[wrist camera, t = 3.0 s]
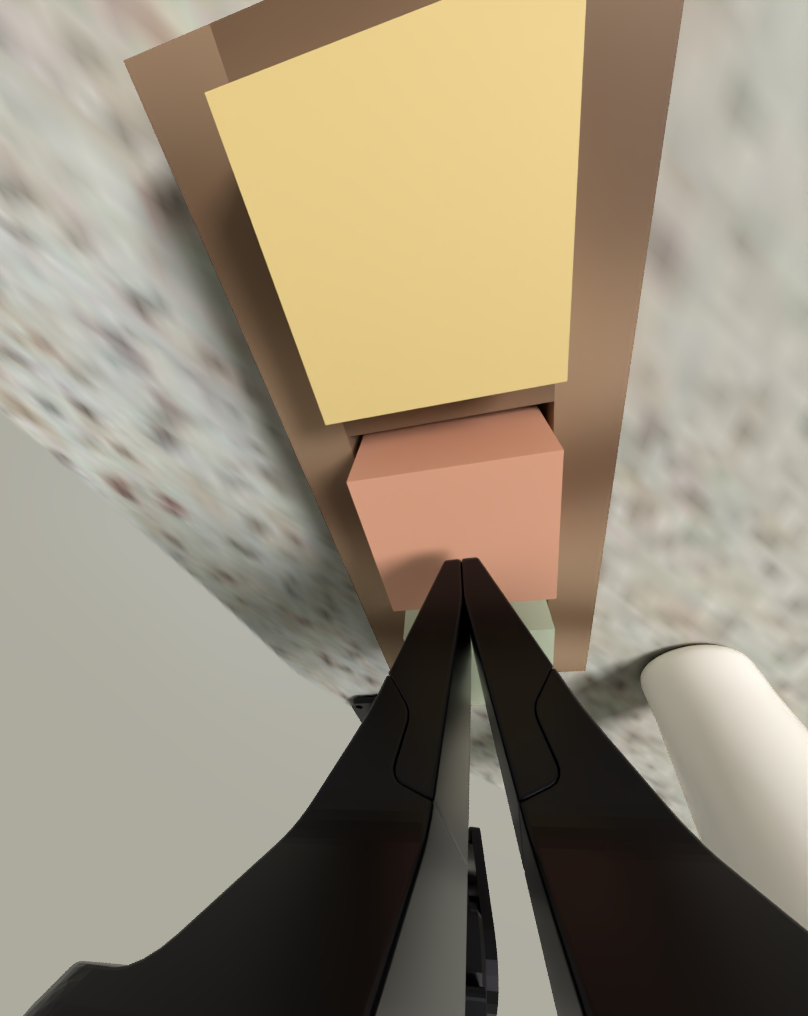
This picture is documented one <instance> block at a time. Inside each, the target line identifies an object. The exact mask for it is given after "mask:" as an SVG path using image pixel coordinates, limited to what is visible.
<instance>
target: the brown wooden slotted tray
mask: <svg viewBox="0 0 808 1016" xmlns="http://www.w3.org/2000/svg"><path fill="white" fill-rule="evenodd" d="M438 1H441V0H264V1H262V2H259V3H257V4H255V5H252V6H250V7H248V8H245V9H243V10H241V11H238V12H236V13H234V14H231V15H229V16H227V17H224V18H222V19H220V20H217V21H215V22H213V23H210V24H208V25H206V26H203V27H201V28H199V29H196V30H194V31H192V32H189V33H187V34H185V35H182V36H180V37H178V38H175V39H173V40H171V41H168V42H166V43H164V44H161V45H159V46H157V47H154V48H152V49H150V50H147V51H145V52H143V53H140V54H138V55H136V56H133V57H131V58H129V59H126V60H124V63H125V65H126V68H127V70H128V72H129V75H130V77H131V79H132V81H133V84H134V86H135V88H136V91H137V93H138V95H139V97H140V100H141V102H142V104H143V106H144V109H145V111H146V113H147V116H148V118H149V120H150V122H151V125H152V127H153V129H154V132H155V134H156V136H157V138H158V141H159V143H160V145H161V148H162V150H163V152H164V154H165V157H166V159H167V161H168V164H169V166H170V168H171V170H172V173H173V175H174V177H175V180H176V182H177V184H178V186H179V189H180V191H181V193H182V196H183V198H184V200H185V202H186V205H187V207H188V209H189V212H190V214H191V216H192V218H193V221H194V223H195V225H196V228H197V230H198V232H199V234H200V237H201V239H202V241H203V244H204V246H205V248H206V250H207V253H208V255H209V257H210V260H211V262H212V264H213V266H214V269H215V271H216V273H217V275H218V278H219V280H220V282H221V285H222V287H223V289H224V291H225V294H226V296H227V298H228V301H229V303H230V305H231V307H232V310H233V312H234V314H235V317H236V319H237V321H238V323H239V326H240V328H241V330H242V333H243V335H244V337H245V339H246V342H247V344H248V346H249V349H250V351H251V353H252V355H253V358H254V360H255V362H256V365H257V367H258V369H259V371H260V374H261V376H262V378H263V381H264V383H265V385H266V387H267V390H268V392H269V394H270V397H271V399H272V401H273V403H274V406H275V408H276V410H277V413H278V415H279V417H280V419H281V422H282V424H283V426H284V429H285V431H286V433H287V435H288V438H289V440H290V442H291V444H292V447H293V449H294V451H295V454H296V456H297V458H298V460H299V463H300V465H301V467H302V470H303V472H304V474H305V476H306V479H307V481H308V483H309V486H310V488H311V490H312V492H313V495H314V497H315V499H316V502H317V504H318V506H319V508H320V511H321V513H322V515H323V518H324V520H325V522H326V524H327V527H328V529H329V531H330V534H331V536H332V538H333V540H334V543H335V545H336V547H337V550H338V552H339V554H340V556H341V559H342V561H343V563H344V566H345V568H346V570H347V572H348V575H349V577H350V579H351V582H352V584H353V586H354V588H355V591H356V593H357V595H358V598H359V600H360V602H361V604H362V607H363V609H364V611H365V613H366V616H367V618H368V620H369V623H370V625H371V627H372V629H373V632H374V634H375V636H376V639H377V641H378V643H379V645H380V648H381V650H382V652H383V655H384V657H385V659H386V661H387V664H388V666H389V668H390V669H391V667H392V665H393V663H394V661H395V659H396V657H397V655H398V653H399V651H400V649H401V647H402V645H403V643H404V639H403V636H404V624H405V612H406V610H405V611H393V609H392V606H391V603H390V601H389V598H388V595H387V592H386V590H385V587H384V584H383V581H382V579H381V576H380V573H379V570H378V568H377V565H376V562H375V559H374V557H373V554H372V551H371V548H370V546H369V543H368V540H367V538H366V535H365V532H364V529H363V527H362V524H361V521H360V518H359V516H358V513H357V510H356V507H355V505H354V502H353V499H352V496H351V494H350V491H349V488H348V485H347V483H346V482H347V479H348V477H349V474H350V471H351V469H352V466H353V463H354V460H355V458H356V455H357V452H358V450H359V447H360V444H361V442H362V439H363V436H364V434H369V433H374V432H379V431H385V430H391V429H397V428H402V427H408V426H414V425H420V424H425V423H431V422H437V421H443V420H448V419H454V418H460V417H466V416H472V415H477V414H483V413H489V412H495V411H500V410H506V409H512V408H518V407H523V406H529V405H537V407H538V408H539V410H540V412H541V413H542V415H543V417H544V418H545V420H546V421H547V423H548V425H549V426H550V428H551V430H552V431H553V433H554V435H555V436H556V438H557V439H558V441H559V443H560V444H561V446H562V448H563V449H564V457H563V477H562V497H561V517H560V537H559V558H558V578H557V598H556V599H547V600H546V601H547V605H548V608H549V611H550V614H551V618H552V621H553V624H554V628H555V638H554V658H553V668H555V669H556V670H557V671H558V672H567V671H585V669H586V663H587V656H588V649H589V642H590V635H591V629H592V622H593V615H594V608H595V602H596V595H597V588H598V581H599V574H600V568H601V561H602V554H603V547H604V540H605V534H606V527H607V520H608V513H609V506H610V500H611V493H612V486H613V479H614V473H615V466H616V459H617V452H618V445H619V439H620V432H621V425H622V418H623V411H624V405H625V398H626V391H627V384H628V377H629V371H630V364H631V357H632V350H633V344H634V337H635V330H636V323H637V316H638V310H639V303H640V296H641V289H642V282H643V276H644V269H645V262H646V255H647V248H648V242H649V235H650V228H651V221H652V215H653V208H654V201H655V194H656V187H657V181H658V174H659V167H660V160H661V153H662V147H663V140H664V133H665V126H666V119H667V113H668V106H669V99H670V92H671V86H672V79H673V72H674V65H675V58H676V52H677V45H678V38H679V31H680V24H681V18H682V11H683V4H684V0H586V15H585V35H584V56H583V76H582V96H581V116H580V136H579V156H578V176H577V196H576V216H575V236H574V256H573V276H572V296H571V317H570V337H569V357H568V377H567V381H566V382H560V383H555V384H549V385H544V386H538V387H533V388H527V389H522V390H516V391H511V392H505V393H500V394H494V395H489V396H483V397H478V398H472V399H467V400H461V401H456V402H450V403H445V404H439V405H434V406H428V407H423V408H417V409H412V410H406V411H401V412H396V413H390V414H385V415H379V416H374V417H368V418H363V419H357V420H352V421H346V422H341V423H335V424H330V425H325V422H324V420H323V417H322V414H321V411H320V409H319V406H318V403H317V400H316V398H315V395H314V392H313V389H312V387H311V384H310V381H309V378H308V376H307V373H306V370H305V367H304V365H303V362H302V359H301V356H300V354H299V351H298V348H297V345H296V343H295V340H294V337H293V334H292V332H291V329H290V326H289V323H288V321H287V318H286V315H285V312H284V310H283V307H282V304H281V301H280V299H279V296H278V293H277V291H276V288H275V285H274V282H273V280H272V277H271V274H270V271H269V269H268V266H267V263H266V260H265V258H264V255H263V252H262V249H261V247H260V244H259V241H258V238H257V236H256V233H255V230H254V227H253V225H252V222H251V219H250V216H249V214H248V211H247V208H246V205H245V203H244V200H243V197H242V194H241V192H240V189H239V186H238V183H237V181H236V178H235V175H234V172H233V170H232V167H231V164H230V162H229V159H228V156H227V153H226V151H225V148H224V145H223V142H222V140H221V137H220V134H219V131H218V129H217V126H216V123H215V120H214V118H213V115H212V112H211V109H210V107H209V104H208V101H207V98H206V96H205V92H207V91H210V90H213V89H215V88H218V87H220V86H223V85H225V84H228V83H230V82H233V81H236V80H238V79H241V78H243V77H246V76H248V75H251V74H254V73H256V72H259V71H261V70H264V69H266V68H269V67H272V66H274V65H277V64H279V63H282V62H284V61H287V60H289V59H292V58H295V57H297V56H300V55H302V54H305V53H307V52H310V51H313V50H315V49H318V48H320V47H323V46H325V45H328V44H331V43H333V42H336V41H338V40H341V39H343V38H346V37H348V36H351V35H354V34H356V33H359V32H361V31H364V30H366V29H369V28H372V27H374V26H377V25H379V24H382V23H384V22H387V21H390V20H392V19H395V18H397V17H400V16H402V15H405V14H407V13H410V12H413V11H415V10H418V9H420V8H423V7H425V6H428V5H431V4H433V3H436V2H438Z"/></svg>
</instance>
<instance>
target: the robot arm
mask: <svg viewBox="0 0 808 1016" xmlns="http://www.w3.org/2000/svg"><path fill="white" fill-rule="evenodd" d="M471 641H472V646H471ZM472 647H473V652H474V657H475V661H476V665H477V670H478V674H479V678H480V682H481V687H482V691H483V695H484V700H485V704H486V708H487V713H488V717H489V721H490V726H491V730H492V734H493V739H494V743H495V747H496V751H497V756H498V760H499V764H500V769H501V773H502V777H503V782H504V786H505V790H506V795H507V799H508V803H509V807H510V812H511V816H512V821H513V825H514V829H515V833H516V837H517V842H518V846H519V851H520V854H521V859H522V864H523V868H524V870H525V877H526V881H527V885H528V889H529V894H530V898H531V903H532V907H533V911H534V916H535V920H536V924H537V928H538V933H539V937H540V941H541V945H542V950H543V954H544V959H545V963H546V967H547V972H548V976H549V980H550V984H551V989H552V993H553V997H554V1002H555V1006H556V1010H557V1014H558V1016H808V930H806V929H805V928H804V927H803V926H801V925H800V924H799V923H798V922H797V921H795V920H794V919H793V918H792V917H790V916H789V915H788V914H787V913H786V912H784V911H783V910H782V909H781V908H779V907H778V906H777V905H776V904H774V903H773V902H772V901H771V900H770V899H768V898H767V897H766V896H765V895H763V894H762V893H761V892H760V891H759V890H757V889H756V888H755V887H754V886H752V885H751V884H750V883H749V882H748V881H746V880H745V879H744V878H743V877H741V876H740V875H739V874H738V873H737V872H735V871H734V870H733V869H732V868H730V867H729V866H728V865H727V864H726V863H724V862H723V861H722V860H721V859H720V858H718V857H717V856H716V855H715V854H714V853H713V852H712V851H711V850H709V849H708V848H707V847H706V846H705V845H704V844H703V843H702V842H701V841H700V840H699V839H698V838H697V837H696V836H695V835H694V834H693V833H692V832H691V831H690V830H689V829H688V828H687V827H686V826H685V825H684V824H683V823H682V822H681V820H680V819H679V818H678V817H677V816H676V815H675V814H674V813H673V812H672V811H671V809H670V808H669V807H668V806H667V805H666V804H665V803H664V801H663V800H662V799H661V798H660V797H659V796H658V795H657V793H656V792H655V791H654V790H653V789H652V788H651V786H650V785H649V784H648V783H647V782H646V781H645V780H644V778H643V777H642V776H641V775H640V774H639V773H638V771H637V770H636V769H635V768H634V767H633V766H632V764H631V763H630V762H629V761H628V760H627V759H626V758H625V756H624V755H623V754H622V753H621V752H620V751H619V749H618V748H617V747H616V746H615V745H614V744H613V743H612V741H611V740H610V739H609V738H608V737H607V736H606V734H605V733H604V732H603V731H602V729H601V728H600V727H599V726H598V725H597V723H596V722H595V721H594V720H593V719H592V717H591V716H590V715H589V714H588V712H587V711H586V710H585V709H584V707H583V706H582V705H581V703H580V702H579V701H578V699H577V698H576V697H575V695H574V694H573V693H572V691H571V690H570V688H569V687H568V686H567V684H566V683H565V682H564V680H563V679H562V677H561V676H560V674H559V673H558V671H557V670H556V669H555V668H553V665H552V663H551V662H550V660H549V659H548V657H547V656H546V654H545V653H544V652H543V650H542V649H541V647H540V646H539V644H538V643H537V641H536V640H535V639H534V637H533V636H532V634H531V633H530V631H529V630H528V628H527V627H526V626H525V624H524V623H523V621H522V620H521V618H520V617H519V616H518V614H517V613H516V611H515V610H514V608H513V607H512V605H511V604H510V603H509V601H508V600H507V598H506V597H505V595H504V594H503V592H502V591H501V590H500V588H499V587H498V585H497V584H496V582H495V581H494V579H493V578H492V577H491V575H490V574H489V572H488V571H487V569H486V568H485V566H484V565H483V564H482V562H481V561H480V559H479V558H477V557H472V558H463V559H462V562H461V560H460V559H452V560H446V561H444V562H443V564H442V566H441V568H440V570H439V572H438V574H437V576H436V578H435V580H434V582H433V584H432V586H431V589H430V591H429V593H428V595H427V597H426V599H425V601H424V603H423V605H422V607H421V609H420V611H419V613H418V615H417V617H416V619H415V621H414V623H413V625H412V627H411V629H410V631H409V633H408V635H407V637H406V639H405V641H404V643H403V645H402V647H401V649H400V651H399V653H398V655H397V657H396V659H395V661H394V663H393V665H392V667H391V669H390V671H389V676H387V677H386V679H385V681H384V683H383V685H382V687H381V689H380V691H379V693H378V695H377V697H358V698H354V699H353V703H352V708H353V709H354V711H355V713H356V714H357V716H358V717H359V719H360V721H361V722H362V724H361V725H360V727H359V729H358V730H357V732H356V734H355V735H354V737H353V738H352V740H351V742H350V743H349V745H348V746H347V748H346V749H345V751H344V752H343V754H342V756H341V757H340V759H339V760H338V762H337V763H336V765H335V767H334V768H333V770H332V771H331V773H330V774H329V776H328V777H327V779H326V781H325V782H324V784H323V785H322V787H321V788H320V790H319V792H318V793H317V795H316V796H315V798H314V799H313V801H312V802H311V804H310V805H309V807H308V808H307V810H306V811H305V813H304V814H303V815H302V816H301V818H300V819H299V820H298V822H297V823H296V824H295V825H294V826H293V828H292V829H291V830H290V831H289V832H288V833H287V834H286V835H285V836H284V837H283V838H282V839H281V840H280V841H279V842H278V843H277V844H276V845H275V846H274V847H273V848H272V849H270V850H269V851H268V852H267V853H266V854H265V855H264V856H263V857H262V858H260V859H259V860H258V861H257V862H256V863H255V864H254V865H253V866H252V867H251V868H249V869H248V870H247V871H246V872H245V873H244V874H243V875H242V876H241V877H240V878H238V879H237V881H235V882H234V883H233V884H232V885H231V886H230V887H229V888H228V889H226V890H225V891H224V892H223V893H222V894H221V895H220V896H219V897H218V898H217V899H215V900H214V901H213V902H212V903H211V904H210V905H209V906H208V907H207V908H206V909H205V910H203V911H202V912H201V913H200V914H199V915H198V916H197V917H196V918H195V919H194V920H192V921H191V922H190V923H189V924H188V925H187V926H186V927H185V928H184V929H183V930H181V931H180V932H179V933H178V934H177V935H176V936H175V937H173V938H172V939H171V940H170V941H168V942H167V943H166V944H165V945H164V946H162V947H161V948H160V949H158V950H157V951H155V952H153V953H152V954H150V955H149V956H147V957H146V958H144V959H142V960H140V961H137V962H135V963H132V964H130V965H121V964H110V963H100V962H87V961H79V962H77V963H75V964H74V965H72V966H71V967H70V968H69V969H68V970H67V971H66V972H65V973H64V974H63V975H62V976H61V977H60V978H59V979H58V980H57V981H56V982H55V983H54V984H53V985H52V986H51V987H50V988H49V989H48V990H47V991H46V992H45V993H44V994H43V995H42V996H41V997H40V998H39V999H38V1000H37V1001H36V1002H35V1003H34V1004H33V1005H32V1006H31V1007H30V1008H29V1010H28V1011H27V1012H26V1013H25V1014H24V1015H23V1016H496V1015H497V1007H498V961H497V948H496V940H495V931H494V924H493V917H492V910H491V904H490V896H489V889H488V882H487V875H486V868H485V861H484V854H483V847H482V840H481V833H480V828H476V827H469V829H468V820H469V770H470V717H471V664H472Z"/></svg>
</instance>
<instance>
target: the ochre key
mask: <svg viewBox="0 0 808 1016" xmlns="http://www.w3.org/2000/svg"><path fill="white" fill-rule="evenodd" d="M585 15H586V0H441V1H438V2H436V3H433V4H431V5H428V6H425V7H423V8H420V9H418V10H415V11H413V12H410V13H407V14H405V15H402V16H400V17H397V18H395V19H392V20H390V21H387V22H384V23H382V24H379V25H377V26H374V27H372V28H369V29H366V30H364V31H361V32H359V33H356V34H354V35H351V36H348V37H346V38H343V39H341V40H338V41H336V42H333V43H331V44H328V45H325V46H323V47H320V48H318V49H315V50H313V51H310V52H307V53H305V54H302V55H300V56H297V57H295V58H292V59H289V60H287V61H284V62H282V63H279V64H277V65H274V66H272V67H269V68H266V69H264V70H261V71H259V72H256V73H254V74H251V75H248V76H246V77H243V78H241V79H238V80H236V81H233V82H230V83H228V84H225V85H223V86H220V87H218V88H215V89H213V90H210V91H207V92H205V96H206V98H207V101H208V104H209V107H210V109H211V112H212V115H213V118H214V120H215V123H216V126H217V129H218V131H219V134H220V137H221V140H222V142H223V145H224V148H225V151H226V153H227V156H228V159H229V162H230V164H231V167H232V170H233V172H234V175H235V178H236V181H237V183H238V186H239V189H240V192H241V194H242V197H243V200H244V203H245V205H246V208H247V211H248V214H249V216H250V219H251V222H252V225H253V227H254V230H255V233H256V236H257V238H258V241H259V244H260V247H261V249H262V252H263V255H264V258H265V260H266V263H267V266H268V269H269V271H270V274H271V277H272V280H273V282H274V285H275V288H276V291H277V293H278V296H279V299H280V301H281V304H282V307H283V310H284V312H285V315H286V318H287V321H288V323H289V326H290V329H291V332H292V334H293V337H294V340H295V343H296V345H297V348H298V351H299V354H300V356H301V359H302V362H303V365H304V367H305V370H306V373H307V376H308V378H309V381H310V384H311V387H312V389H313V392H314V395H315V398H316V400H317V403H318V406H319V409H320V411H321V414H322V417H323V420H324V422H325V425H330V424H335V423H341V422H346V421H352V420H357V419H363V418H368V417H374V416H379V415H385V414H390V413H396V412H401V411H406V410H412V409H417V408H423V407H428V406H434V405H439V404H445V403H450V402H456V401H461V400H467V399H472V398H478V397H483V396H489V395H494V394H500V393H505V392H511V391H516V390H522V389H527V388H533V387H538V386H544V385H549V384H555V383H560V382H566V381H567V377H568V357H569V337H570V317H571V296H572V276H573V256H574V236H575V216H576V196H577V176H578V156H579V136H580V116H581V96H582V76H583V56H584V35H585Z"/></svg>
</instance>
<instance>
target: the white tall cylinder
mask: <svg viewBox="0 0 808 1016" xmlns="http://www.w3.org/2000/svg"><path fill="white" fill-rule="evenodd" d="M640 683H641V687H642V690H643V693H644V695H645V697H646V699H647V702H648V704H649V706H650V708H651V710H652V713H653V715H654V717H655V719H656V722H657V724H658V727H659V730H660V732H661V735H662V737H663V740H664V743H665V745H666V748H667V751H668V753H669V756H670V759H671V761H672V764H673V767H674V769H675V772H676V775H677V778H678V780H679V783H680V786H681V788H682V791H683V794H684V796H685V799H686V802H687V804H688V807H689V810H690V813H691V815H692V818H693V821H694V823H695V826H696V829H697V832H698V834H699V837H700V840H701V842H702V843H703V844H704V845H705V846H706V847H707V848H708V849H709V850H711V851H712V852H713V853H714V854H715V855H716V856H717V857H718V858H720V859H721V860H722V861H723V862H724V863H726V864H727V865H728V866H729V867H730V868H732V869H733V870H734V871H735V872H737V873H738V874H739V875H740V876H741V877H743V878H744V879H745V880H746V881H748V882H749V883H750V884H751V885H752V886H754V887H755V888H756V889H757V890H759V891H760V892H761V893H762V894H763V895H765V896H766V897H767V898H768V899H770V900H771V901H772V902H773V903H774V904H776V905H777V906H778V907H779V908H781V909H782V910H783V911H784V912H786V913H787V914H788V915H789V916H790V917H792V918H793V919H794V920H795V921H797V922H798V923H799V924H800V925H801V926H803V927H804V928H805V929H806V930H808V730H807V729H806V727H805V726H804V725H803V724H802V723H801V722H800V720H799V719H798V718H797V717H796V716H795V714H794V713H793V712H792V711H791V710H790V709H789V707H788V706H787V705H786V704H785V703H784V702H783V700H782V699H781V698H780V697H779V696H778V695H777V693H776V692H775V691H774V689H773V688H772V687H771V685H770V684H769V683H768V681H767V680H766V679H765V677H764V676H763V675H762V673H761V672H760V671H759V669H758V668H757V667H756V666H755V664H754V663H753V662H752V661H751V660H750V659H749V658H748V657H747V656H745V655H744V654H742V653H741V652H739V651H737V650H734V649H732V648H729V647H725V646H719V645H693V646H687V647H682V648H678V649H674V650H671V651H669V652H666V653H664V654H662V655H660V656H658V657H656V658H655V659H653V660H652V661H650V662H649V663H648V664H647V665H646V666H645V668H644V669H643V671H642V673H641V677H640Z"/></svg>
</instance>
